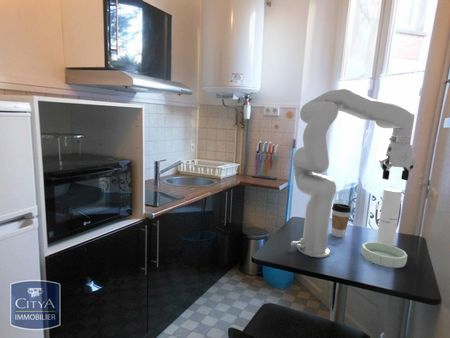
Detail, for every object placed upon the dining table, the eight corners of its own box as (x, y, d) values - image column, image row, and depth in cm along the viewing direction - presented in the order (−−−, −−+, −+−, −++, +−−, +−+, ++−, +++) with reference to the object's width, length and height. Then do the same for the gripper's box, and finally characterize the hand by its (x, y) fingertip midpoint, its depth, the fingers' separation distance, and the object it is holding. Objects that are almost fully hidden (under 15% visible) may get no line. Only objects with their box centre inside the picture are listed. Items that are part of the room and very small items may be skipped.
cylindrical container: (396, 247, 134) (404, 192, 130) (378, 245, 135) (386, 190, 131) (390, 241, 141) (398, 189, 137) (374, 239, 142) (381, 187, 138)
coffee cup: (325, 232, 148) (328, 202, 146) (339, 231, 150) (343, 202, 148) (336, 238, 140) (340, 207, 138) (351, 237, 143) (355, 207, 140)
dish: (378, 268, 112) (380, 258, 111) (353, 250, 127) (354, 242, 126) (414, 267, 115) (416, 257, 114) (386, 250, 130) (387, 241, 129)
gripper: (389, 140, 126) (383, 180, 128) (424, 142, 129) (418, 181, 131) (377, 139, 133) (372, 177, 135) (411, 141, 136) (405, 178, 139)
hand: (394, 179), depth 133 cm, fingers open, 9 cm apart
